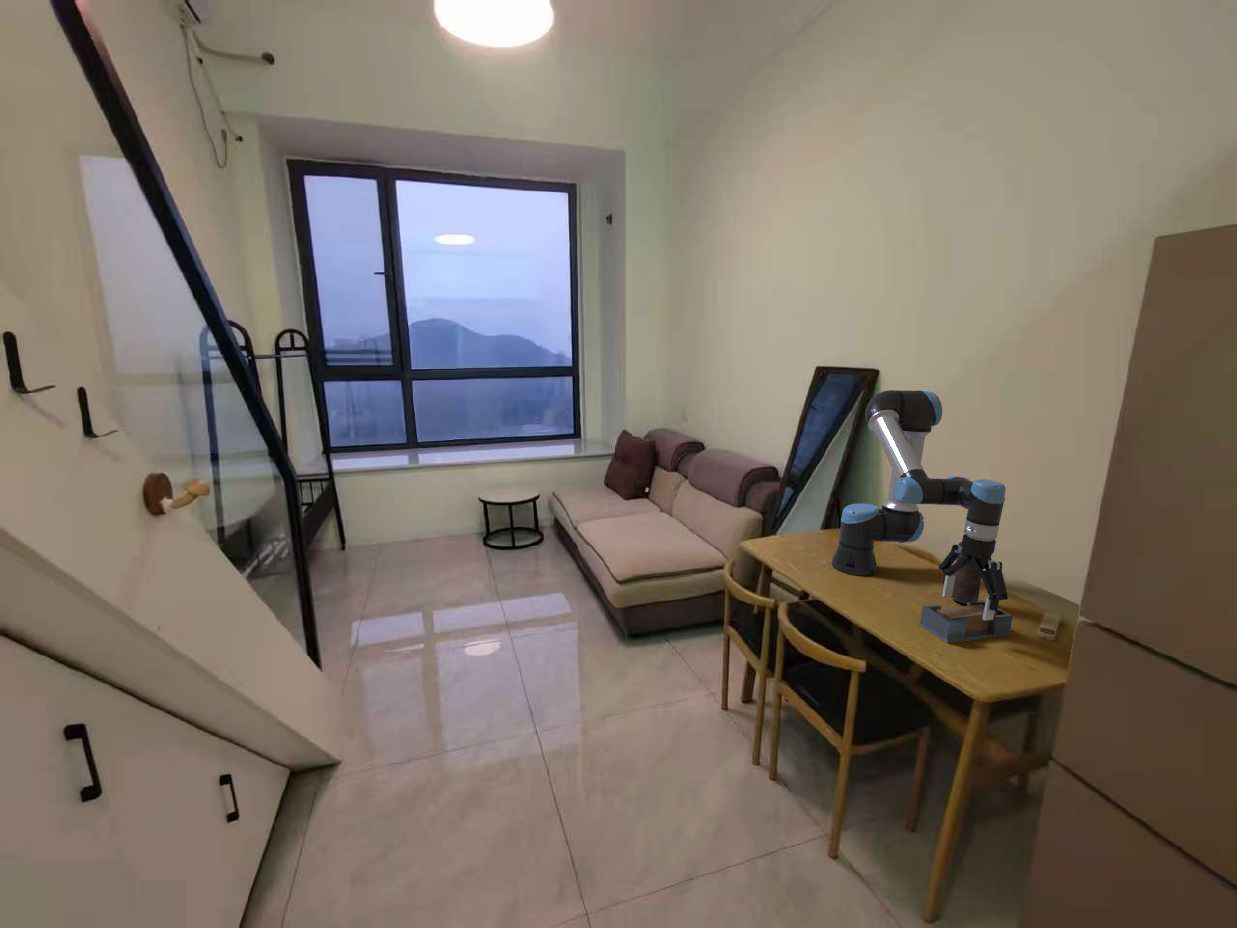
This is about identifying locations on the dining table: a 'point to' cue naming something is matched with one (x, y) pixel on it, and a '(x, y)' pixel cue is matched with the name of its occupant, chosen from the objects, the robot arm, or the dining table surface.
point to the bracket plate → (963, 625)
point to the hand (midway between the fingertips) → (966, 607)
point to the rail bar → (968, 617)
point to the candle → (966, 584)
